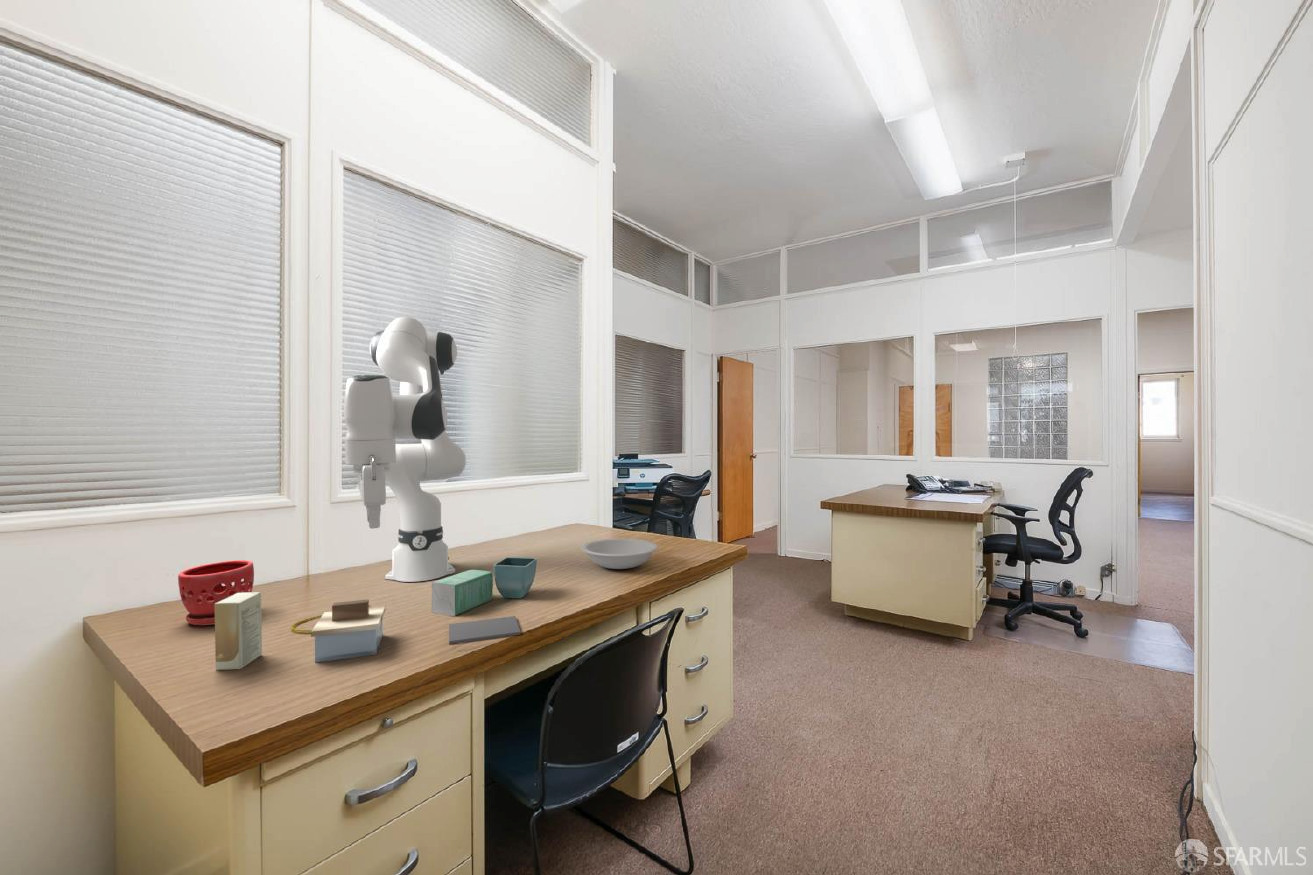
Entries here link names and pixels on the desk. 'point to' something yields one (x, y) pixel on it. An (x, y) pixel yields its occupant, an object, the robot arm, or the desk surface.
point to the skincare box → (238, 630)
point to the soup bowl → (619, 552)
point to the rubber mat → (483, 629)
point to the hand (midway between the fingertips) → (373, 524)
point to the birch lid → (349, 618)
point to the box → (461, 592)
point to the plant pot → (212, 587)
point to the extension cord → (303, 622)
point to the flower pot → (514, 576)
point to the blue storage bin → (347, 644)
